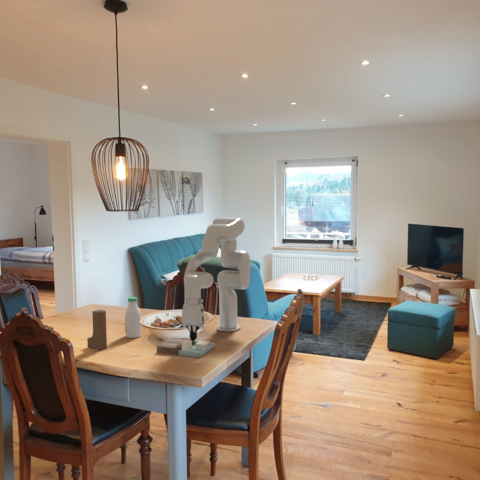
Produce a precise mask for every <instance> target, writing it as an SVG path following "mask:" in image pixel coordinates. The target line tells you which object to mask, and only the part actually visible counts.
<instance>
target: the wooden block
mask: <svg viewBox="0 0 480 480" xmlns="http://www.w3.org/2000/svg"><path fill="white" fill-rule="evenodd" d="M91 312H92V336H90V337H87V338H86V339H87V340H86V341H87V348H89V349H93V350H96V351H103V350H106V349H108V342H107V341H108V340H107V338H108V337H107V336H108V335H107V312H106V310H103V309H97V310H93V311H91Z"/></svg>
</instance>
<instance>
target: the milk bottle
mask: <svg viewBox="0 0 480 480" xmlns="http://www.w3.org/2000/svg"><path fill="white" fill-rule="evenodd" d="M127 302H128V305H127V308H126V311H125V317H124V319H125V324H124V325H125V338H127V339H135V338H136V339H137V338H140V337H141V336H142V324H141V325H140V323H139V321H140V320H141V321H142V316H141V314H142V313H141V310H140V308H139V306H138V297H136V296H131V297H130V296H129V297H128V298H127Z"/></svg>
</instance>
